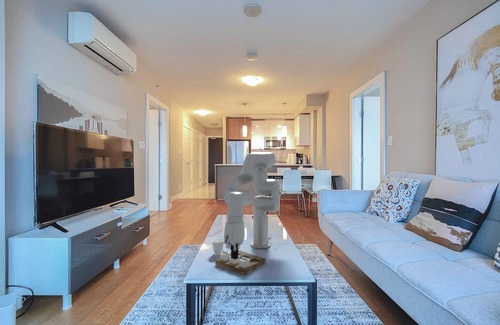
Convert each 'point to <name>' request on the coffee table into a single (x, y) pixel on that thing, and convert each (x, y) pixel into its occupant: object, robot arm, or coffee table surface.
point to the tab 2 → (244, 262)
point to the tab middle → (234, 260)
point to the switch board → (254, 264)
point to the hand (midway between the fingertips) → (234, 258)
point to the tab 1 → (224, 256)
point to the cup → (218, 246)
